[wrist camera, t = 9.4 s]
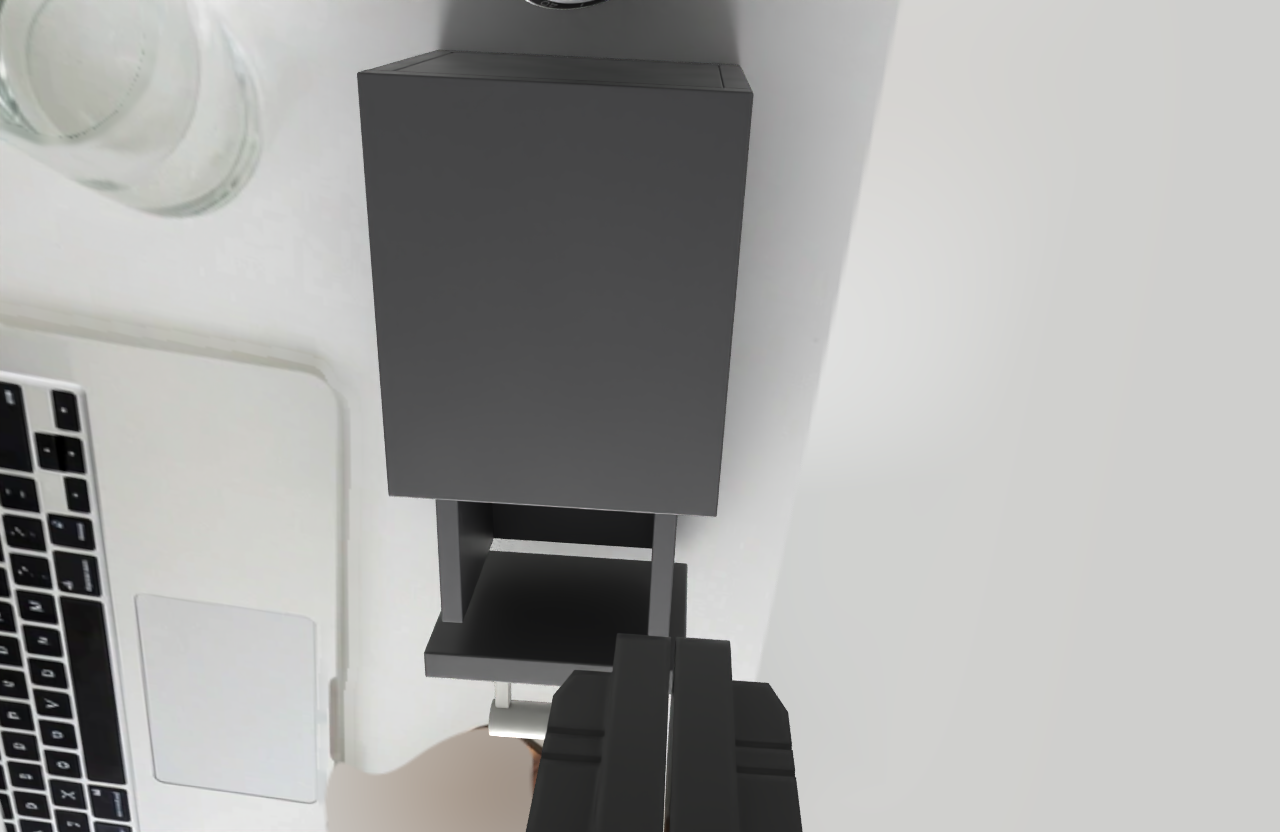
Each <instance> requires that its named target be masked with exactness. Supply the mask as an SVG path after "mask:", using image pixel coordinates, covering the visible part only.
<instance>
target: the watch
mask: <svg viewBox="0 0 1280 832" xmlns="http://www.w3.org/2000/svg"><path fill="white" fill-rule="evenodd" d="M526 1H528V2H529V3H531V4H534V5H535V6H536V5H537V6H538V7H539V6H540V7H544V8H548V9H555V10H557V9H559V10H561V9H562V10H565V9H566V10H568V9H577V8H585V7H589V6H593V5H597V4H600V3H603V2H606V1H609V0H526Z"/></svg>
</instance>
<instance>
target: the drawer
mask: <svg viewBox="0 0 1280 832" xmlns="http://www.w3.org/2000/svg"><path fill="white" fill-rule="evenodd" d="M436 515H437V535H438V554H439V573H440V592H441V612H440V615H439V617H438V620H437V622H436V625H435V627H434V630H433V632H432V634H431V637H430V639H429V642H428V644H427V647H426V649H425V652H424V659H425V675H426V677H435V678H449V679H463V680H477V681H491V682H495V699H494V700H493V701H492V704H491V708H490V715H489V734H490V735H491V736H504V737H517V738H531V739H545V734H546V732H547V724H548V719H549V714H550V709H551V704H552V703H547V702H533V701H519V700H511V683H519V684H533V685H548V686H562V684H563V683H564V682H565V681H566V680H567V678H568V677H569V676H570V675H571V673H572V672H573V671H574V670H586V671H601V672H612V670H613V662H614V654H615V646H616V638H617V633H622V634H636V635H651V636H665V637H671V650H670V674H669V694H671V693H672V679H673V665H674V651H675V639H676V637H683V638H686V615H687V564H683V563H674V555H675V540H676V526H677V515H672V514H657V513H641V512H626V511H610V510H595V509H580V508H564V507H549V506H533V505H518V504H502V503H487V502H472V501H456V500H441V499H436ZM493 538H501V539H517V540H532V541H547V542H562V543H577V544H592V545H607V546H623V547H638V548H652V561H638V560H623V559H608V558H593V557H578V556H563V555H548V554H533V553H518V552H502V551H489V549H490V546H491V544H492V541H493Z"/></svg>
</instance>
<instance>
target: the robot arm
mask: <svg viewBox="0 0 1280 832" xmlns="http://www.w3.org/2000/svg"><path fill="white" fill-rule="evenodd" d="M670 650H671V637H665V636H651V635H636V634H622V633H617V638H616V646H615V654H614V662H613V670H612V672H601V671H586V670H574V671H573V672H572V673H571V675H570V676H569V677H568V678H567V680H566V681H565V682H564V683H563V684H562V686H561V687H560V688H559V689H558V690H557V692H556V693H555V694H554V695H553V699H552V704H551V709H550V714H549V719H548V724H547V732H546V734H545V739H544V744H543V749H542V757H541V759H540V764H539V769H538V774H537V779H536V784H535V789H534V794H533V799H532V804H531V809H530V814H529V819H528V824H527V829H526V832H663V819H664V795H665V771H666V746H667V722H668V698H669V674H670ZM664 832H802V824H801V815H800V807H799V799H798V791H797V782H796V777H795V766H794V758H793V750H792V742H791V733H790V725H789V717H788V711H787V710H786V709H785V707H784V706H783V704H782V703H781V701H780V699H779V698H778V697H777V695H776V694H775V692H774V691H773V689H772V688H771V686H770V685H769V683H761V682H747V681H732V668H731V648H730V641H727V640H712V639H698V638H683V637H676V639H675V651H674V665H673V679H672V693H671V707H670V721H669V736H668V753H667V773H666V797H665V822H664Z"/></svg>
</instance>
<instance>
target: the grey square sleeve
mask: <svg viewBox="0 0 1280 832" xmlns="http://www.w3.org/2000/svg"><path fill="white" fill-rule="evenodd" d="M357 79H358V93H359V106H360V119H361V133H362V146H363V159H364V173H365V186H366V199H367V213H368V226H369V239H370V253H371V266H372V279H373V292H374V306H375V319H376V332H377V346H378V359H379V372H380V386H381V399H382V412H383V426H384V439H385V452H386V466H387V479H388V492H389V496H394V497H410V498H425V499H441V500H456V501H472V502H487V503H502V504H518V505H533V506H549V507H564V508H580V509H595V510H610V511H626V512H641V513H657V514H672V515H688V516H703V517H716V516H717V505H718V494H719V482H720V471H721V459H722V448H723V437H724V425H725V414H726V402H727V391H728V379H729V368H730V356H731V345H732V333H733V322H734V310H735V299H736V287H737V276H738V265H739V253H740V242H741V230H742V219H743V207H744V196H745V184H746V173H747V161H748V150H749V138H750V127H751V116H752V104H753V92H752V90H751V88H750V85H749V83H748V81H747V79H746V77H745V75H744V73H743V70H742V68H741V67H740V65H734V64H714V63H694V62H674V61H654V60H633V59H613V58H593V57H573V56H553V55H533V54H513V53H493V52H472V51H452V50H436V51H432V52H429V53H425V54H422V55H418V56H415V57H411V58H408V59H404V60H401V61H397V62H394V63H390V64H387V65H383V66H380V67H376V68H373V69H369V70H364V71H361V72H358V73H357Z"/></svg>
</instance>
